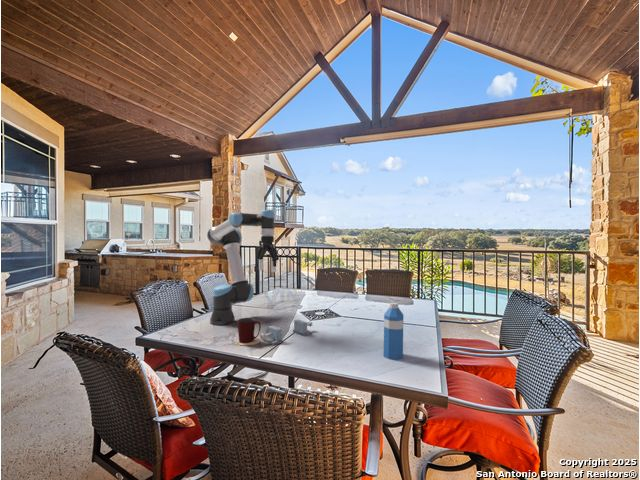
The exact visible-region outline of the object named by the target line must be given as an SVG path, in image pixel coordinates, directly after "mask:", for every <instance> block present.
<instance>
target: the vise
mask: <svg viewBox="0 0 640 480" xmlns="http://www.w3.org/2000/svg"><path fill="white" fill-rule="evenodd" d="M293 324H294V325H293V329H292V332H293V333H294V334H298V335H300V336H303V337H307V336H309V335H312V334H313V331H312V330H308V327H313V322H312V321H305V320H302V319H299V318H298V319H294V320H293ZM259 337H260V338H259V339H260V340H262V341H263V342H265V343H267V344H269V345H271V346H277V345H279V344H282V343H283V339H282V328H280V327H277V326H275V325H270V326H268V327H267V333H261V334H259Z"/></svg>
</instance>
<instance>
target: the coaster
mask: <svg viewBox="0 0 640 480" xmlns="http://www.w3.org/2000/svg"><path fill="white" fill-rule="evenodd" d="M260 342H261V338H258V337H256V338H255V339H254V340H253V341H252V342H250V343H240V342H239V339H238V340H237V341H236V345H239V346H243V347H247V346H248V347H250V346H256V345H258V344H260Z"/></svg>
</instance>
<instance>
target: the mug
mask: <svg viewBox="0 0 640 480" xmlns="http://www.w3.org/2000/svg"><path fill="white" fill-rule="evenodd" d="M256 324H258V325H259V328H258V332H257V334H256V335H255V326H256ZM261 327H262V326H261V322H260V321H256V319H255V318H254V317H242V318H239V319H237V333H238V340H239V342H240V343H250V342H252V341H253V340H254V339H255V338H258V336H260V332H261Z"/></svg>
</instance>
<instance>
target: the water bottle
mask: <svg viewBox="0 0 640 480" xmlns="http://www.w3.org/2000/svg"><path fill="white" fill-rule="evenodd" d="M404 316H405V315H404V313H403V312H402V310H401V309H400V307H399V303H398V302H389V307H388V309H387V310H386V311H385V312H384V315H383V357H384V358H386V359H388V360H393V361H398V360H402V359H403V357H404Z"/></svg>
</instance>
